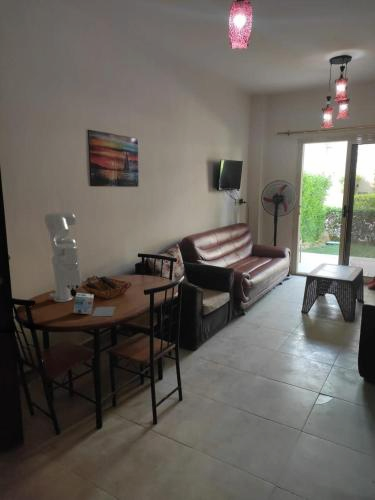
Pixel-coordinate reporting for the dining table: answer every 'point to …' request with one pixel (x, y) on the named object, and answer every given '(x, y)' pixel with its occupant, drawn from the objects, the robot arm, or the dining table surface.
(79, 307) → the light bulb box
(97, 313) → the mat
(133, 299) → the dining table surface
